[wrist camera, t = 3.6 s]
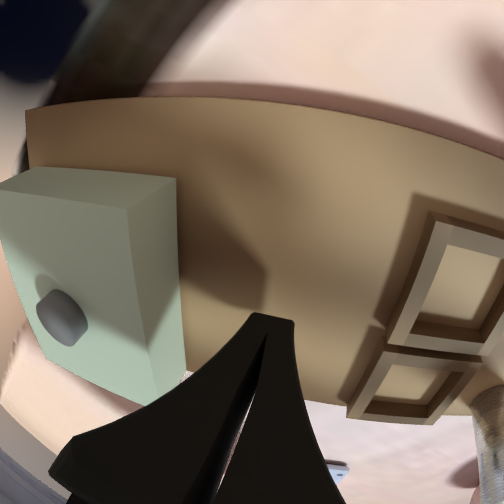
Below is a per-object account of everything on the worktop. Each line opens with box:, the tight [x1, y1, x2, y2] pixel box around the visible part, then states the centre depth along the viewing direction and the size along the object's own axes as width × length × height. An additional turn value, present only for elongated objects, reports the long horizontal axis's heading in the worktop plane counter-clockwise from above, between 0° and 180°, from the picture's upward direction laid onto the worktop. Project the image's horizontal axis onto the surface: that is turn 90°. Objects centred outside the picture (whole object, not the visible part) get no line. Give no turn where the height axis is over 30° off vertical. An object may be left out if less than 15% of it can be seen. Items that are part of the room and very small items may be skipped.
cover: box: [0, 166, 186, 406], centre depth 11 cm, size 9×7×4 cm
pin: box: [470, 385, 504, 504], centre depth 8 cm, size 2×2×6 cm
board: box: [25, 96, 504, 425], centre depth 11 cm, size 12×26×2 cm, turn 85°
